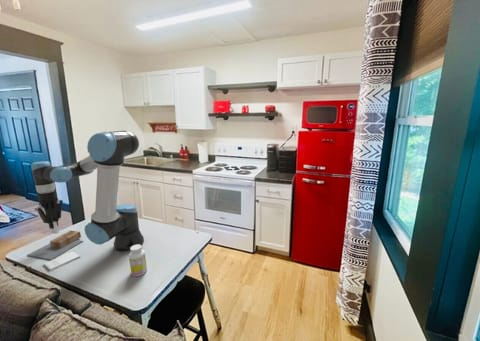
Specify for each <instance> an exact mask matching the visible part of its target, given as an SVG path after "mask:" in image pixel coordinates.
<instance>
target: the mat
mask: <svg viewBox="0 0 480 341" xmlns="http://www.w3.org/2000/svg"><path fill="white" fill-rule="evenodd" d="M82 243H84V240H79V239H77V240H75V241H73V242H72V243H70V244H68V245H67V246H65V247H63V248H55V247H51V244H50V243H48V244H46V245H44V246H42V247H40V248H38V249H35V250H34V251H32V252H30V253H28V254H26V256H27V257H31V258H36V259H37V258H38V259H40V260H41V259H42V260H46V261H51V260H54V259H56V258H58V257H60V256H62V255H64V254H66V252H68V251H70V250H72V249H73V248H75V247H77V246H78V245H80V244H82Z"/></svg>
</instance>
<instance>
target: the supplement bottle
mask: <svg viewBox="0 0 480 341" xmlns="http://www.w3.org/2000/svg"><path fill="white" fill-rule="evenodd" d="M142 246H143V245H139V244H137V245H133V246H132V247H131V248H130V251H129V252H130V253H129V254H128V261H129V267H130V273H131V275H132V276H134V277H139V276H142V275H145V273H146V272H147V270H148V268H147V267H148V266H147V259H146V252H145V250H144V249H143V248H142Z"/></svg>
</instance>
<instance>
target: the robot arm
mask: <svg viewBox="0 0 480 341" xmlns="http://www.w3.org/2000/svg"><path fill="white" fill-rule="evenodd" d="M139 147H140V142H139V139H138V137H137V135H136V134H134V133H133V132H131V131H129V130H117V131H115V130H113V131H103V132H97V133H95V134H93V135H92V136H91V137H90V138H89V139H88V142H87V146H86V148H87V153H88V154H89V155H88V156H87V157H85V158H83V159H80V160H79V161H77V162H73V163H69V164H62V165H57V166H52V164H51V162H50V161H49V160H48V161H47V160H45V161H44V160H43V161H36V162H32V163H31V164H30V166H31V173H32V177H33V181H34V185H35V190H36V193H37V194H36V195H37V199H38V201H39V203H38V207H35V208H34V211H36V212H37V214H38V215H39V217H40V219H41V220H42V222H43V223H44V224H48V227H49V229H50V230H51V234H55V235H57V234H58V233H59V228H58V226H59V220H60V219H61V218H62V208H63V206H62V204H63V202H64V201H63V200H64V199H58V198H57V197H58V196H57V195H58V194H57V191H56V185H55V183H60V184H61V183H67V182H68V181H70V180H71V179H74V178H78V177H82V176H87V175H89V174H92V173H94V171H95V170H96V171H97V173H96V193H95V208H94V209H95V211H94V212H92V214H91V216H90V217H91V219H90V222H88V223H87V224H86V225H84V234H85V236H86V238H87V239H88V240H89V241H90V242H91V243H93V244H96V245H99V246H101V245H104V244H106V243H107V242H108V243H109V241H111V240H112V239H113V238H114V241H113V248H114V250H115V251H116V252H120V253H123V252H124V253H125V252H131V251H130V248H131V247H132V246H133V245H137V244H139V245H141V246H143V244H144V243H145V240H144V238H145V237H144V235H142V232H141V230H140V226H139V217H138V210H137V207H136V205H135V204H131V203H121V204H118V191H119V190H118V189H119V181H120V180H119V178H120V167H121V166H122V165H124V163H125V162H124V161H125V158H126V157H127V156H132V155H133V154H134V153H136V152H137V151H138V149H139Z"/></svg>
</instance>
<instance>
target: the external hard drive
mask: <svg viewBox="0 0 480 341" xmlns="http://www.w3.org/2000/svg"><path fill="white" fill-rule="evenodd" d="M80 258H81V256H80V254H78V253H77V252H75V251H71V252H68V253H64V254H62V255H60V256H58V257H56V258H54V259H53V260H48V261H47V262H44V263H43V266H44V265H45V266H44V267H45V268H47V269H48V270H49V271H50V272H51V270H52V271H54V270H55V269H58V268H60V266H61V267H62V266H64V265H67V264H69V263H71V262H73V261H75V260H78V259H80Z"/></svg>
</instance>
